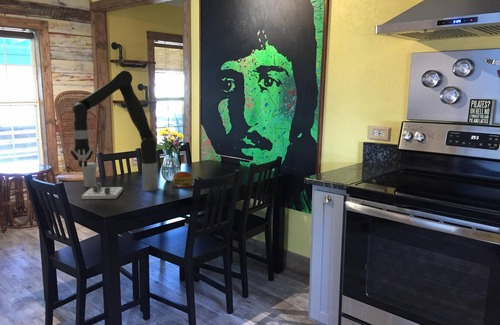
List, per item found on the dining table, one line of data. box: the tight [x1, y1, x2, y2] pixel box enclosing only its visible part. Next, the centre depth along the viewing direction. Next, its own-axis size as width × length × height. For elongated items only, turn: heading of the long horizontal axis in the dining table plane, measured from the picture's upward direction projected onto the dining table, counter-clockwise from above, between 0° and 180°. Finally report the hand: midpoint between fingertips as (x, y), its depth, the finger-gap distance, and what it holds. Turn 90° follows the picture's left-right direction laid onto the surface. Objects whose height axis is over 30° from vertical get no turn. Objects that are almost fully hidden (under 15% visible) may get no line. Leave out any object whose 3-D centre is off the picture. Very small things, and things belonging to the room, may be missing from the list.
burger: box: [172, 171, 194, 189], centre depth 270 cm, size 13×14×10 cm
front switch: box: [105, 186, 110, 194], centre depth 243 cm, size 2×3×4 cm
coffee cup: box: [80, 161, 98, 188], centre depth 269 cm, size 10×10×15 cm
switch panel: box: [81, 186, 123, 200], centre depth 249 cm, size 19×20×2 cm
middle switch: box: [92, 184, 99, 191], centre depth 248 cm, size 2×3×4 cm
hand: (83, 166), depth 245 cm, fingers closed
